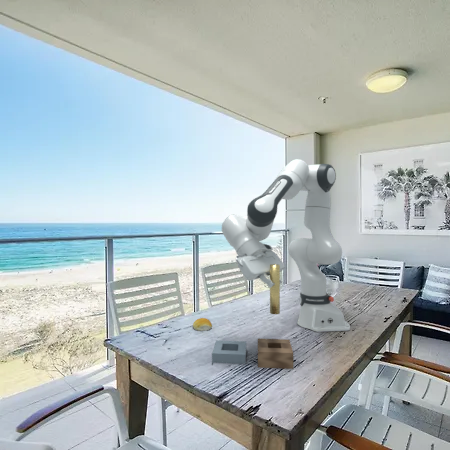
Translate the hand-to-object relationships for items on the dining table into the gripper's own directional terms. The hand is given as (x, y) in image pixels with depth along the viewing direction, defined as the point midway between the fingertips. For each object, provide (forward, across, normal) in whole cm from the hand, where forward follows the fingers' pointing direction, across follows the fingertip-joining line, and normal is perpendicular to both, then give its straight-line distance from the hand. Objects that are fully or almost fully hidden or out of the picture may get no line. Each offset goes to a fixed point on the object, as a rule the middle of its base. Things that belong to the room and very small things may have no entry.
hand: (276, 285), depth 104 cm
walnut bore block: (+18, 0, +19) cm, 26 cm away
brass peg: (+6, 0, +7) cm, 9 cm away
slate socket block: (+8, -7, +28) cm, 31 cm away
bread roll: (-12, +9, +49) cm, 51 cm away
